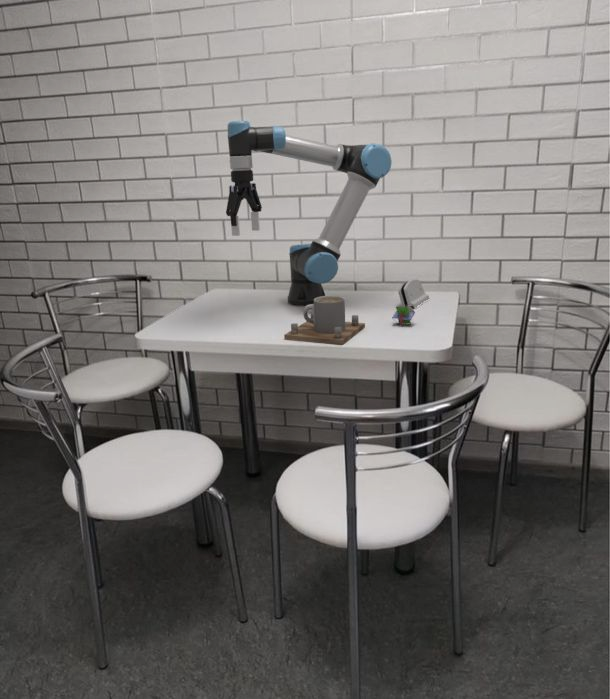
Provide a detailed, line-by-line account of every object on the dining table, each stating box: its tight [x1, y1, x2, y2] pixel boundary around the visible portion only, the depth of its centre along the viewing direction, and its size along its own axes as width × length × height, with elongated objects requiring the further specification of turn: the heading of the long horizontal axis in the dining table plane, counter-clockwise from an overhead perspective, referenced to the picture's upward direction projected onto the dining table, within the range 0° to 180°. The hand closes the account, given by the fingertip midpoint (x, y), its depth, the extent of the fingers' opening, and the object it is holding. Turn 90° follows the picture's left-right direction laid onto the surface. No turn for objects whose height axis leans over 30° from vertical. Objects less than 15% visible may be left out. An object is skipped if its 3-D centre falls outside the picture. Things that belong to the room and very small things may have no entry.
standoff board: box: [284, 311, 366, 346], centre depth 197 cm, size 20×20×4 cm
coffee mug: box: [302, 295, 346, 333], centre depth 196 cm, size 13×10×10 cm
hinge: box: [397, 279, 430, 309], centre depth 230 cm, size 17×5×10 cm, turn 150°
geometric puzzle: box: [391, 305, 416, 326], centre depth 202 cm, size 7×7×8 cm
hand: (246, 233), depth 212 cm, fingers open, 13 cm apart
